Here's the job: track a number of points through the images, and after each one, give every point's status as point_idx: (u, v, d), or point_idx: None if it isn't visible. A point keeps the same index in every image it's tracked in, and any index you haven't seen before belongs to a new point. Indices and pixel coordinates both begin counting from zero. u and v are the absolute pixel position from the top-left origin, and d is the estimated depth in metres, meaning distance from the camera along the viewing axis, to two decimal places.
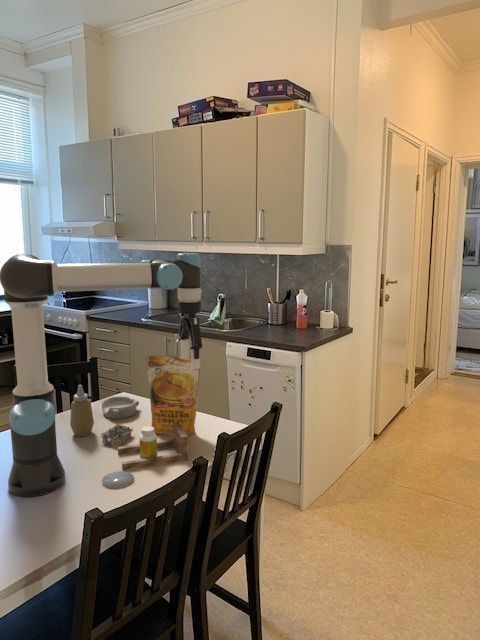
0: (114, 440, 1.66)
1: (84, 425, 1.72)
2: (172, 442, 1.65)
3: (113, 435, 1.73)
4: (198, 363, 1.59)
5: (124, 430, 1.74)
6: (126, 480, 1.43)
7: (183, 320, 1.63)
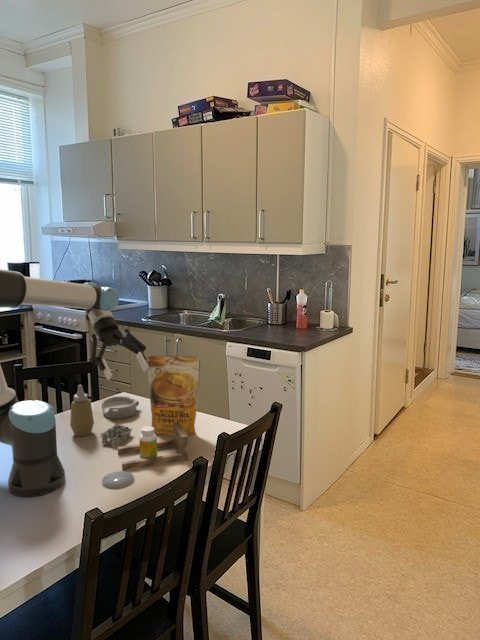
0: (114, 440, 1.66)
1: (84, 425, 1.72)
2: (172, 442, 1.65)
3: (112, 435, 1.73)
4: None
5: (123, 430, 1.75)
6: (126, 480, 1.43)
7: (110, 335, 1.64)
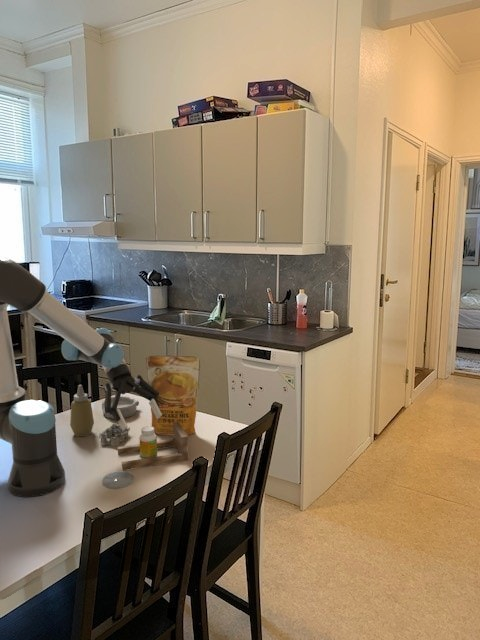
0: (114, 440, 1.66)
1: (84, 425, 1.72)
2: (172, 442, 1.65)
3: (110, 435, 1.73)
4: None
5: (121, 430, 1.75)
6: (126, 480, 1.43)
7: (124, 383, 1.65)
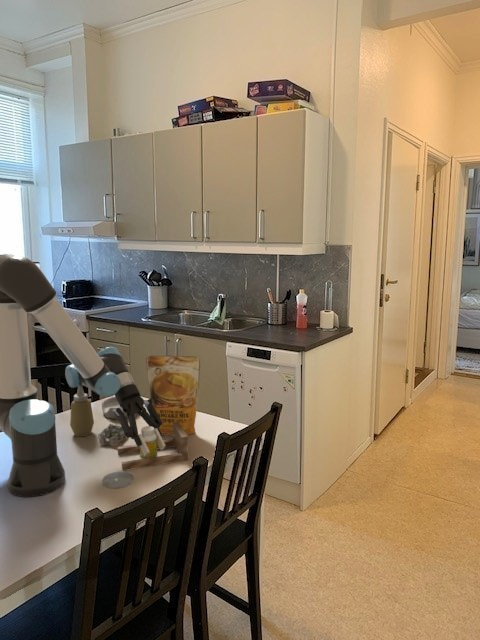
0: (113, 440, 1.66)
1: (84, 425, 1.72)
2: (172, 442, 1.65)
3: (108, 435, 1.73)
4: None
5: (118, 429, 1.75)
6: (126, 480, 1.43)
7: (133, 403, 1.59)
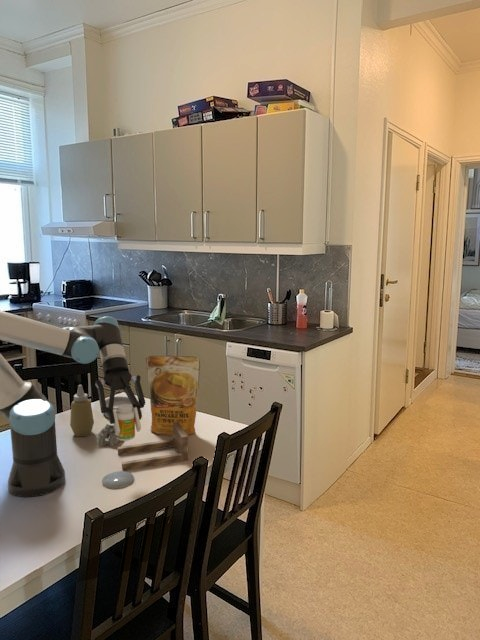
0: (113, 439, 1.66)
1: (84, 425, 1.72)
2: (172, 442, 1.65)
3: (105, 435, 1.73)
4: None
5: None
6: (126, 480, 1.43)
7: (116, 377, 1.47)
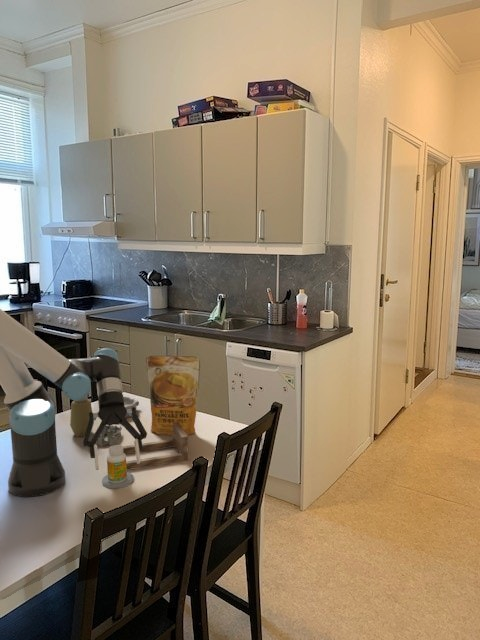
0: (112, 439, 1.66)
1: (84, 425, 1.72)
2: (172, 442, 1.65)
3: (103, 436, 1.72)
4: None
5: (112, 429, 1.75)
6: (126, 480, 1.43)
7: (110, 413, 1.46)
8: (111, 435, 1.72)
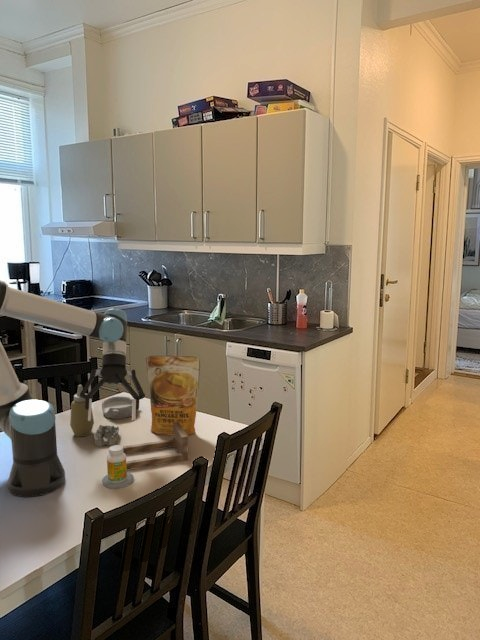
0: (111, 439, 1.67)
1: (84, 425, 1.72)
2: (172, 442, 1.65)
3: (101, 436, 1.72)
4: None
5: (110, 429, 1.75)
6: (126, 480, 1.43)
7: (111, 374, 1.58)
8: (109, 435, 1.72)
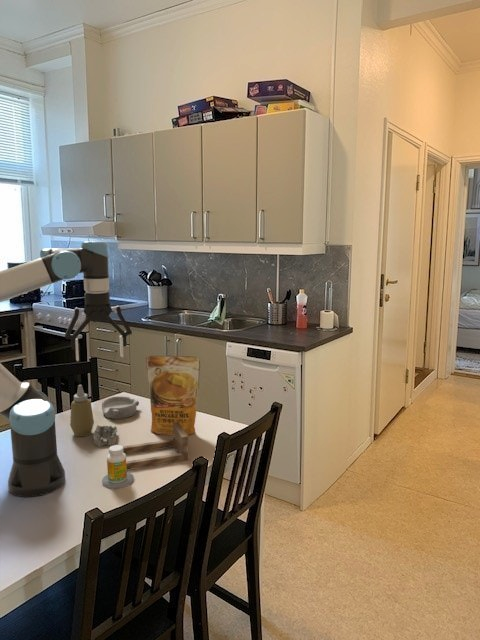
0: (111, 439, 1.67)
1: (84, 425, 1.72)
2: (172, 442, 1.65)
3: (99, 437, 1.72)
4: None
5: (107, 430, 1.75)
6: (126, 480, 1.43)
7: (95, 314, 1.52)
8: (107, 435, 1.72)
